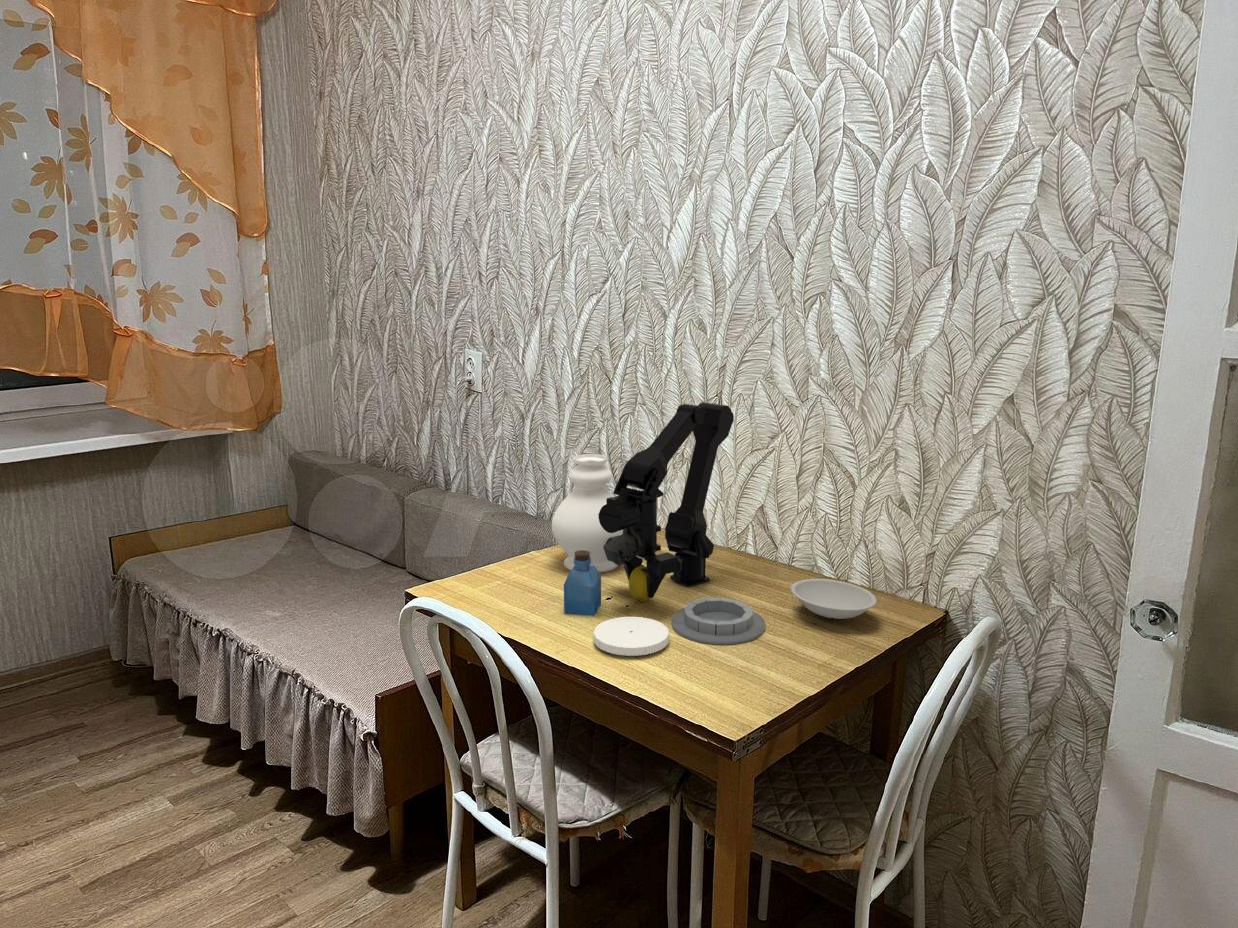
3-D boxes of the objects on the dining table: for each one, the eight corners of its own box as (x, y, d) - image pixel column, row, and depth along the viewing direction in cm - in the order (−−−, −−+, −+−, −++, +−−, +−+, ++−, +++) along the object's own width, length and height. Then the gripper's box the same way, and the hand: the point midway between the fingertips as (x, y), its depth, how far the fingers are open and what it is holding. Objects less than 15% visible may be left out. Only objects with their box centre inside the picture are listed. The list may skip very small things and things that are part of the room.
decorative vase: (644, 559, 220) (645, 454, 214) (602, 583, 206) (601, 471, 200) (581, 546, 230) (580, 445, 224) (536, 567, 215) (534, 461, 209)
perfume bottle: (594, 616, 189) (593, 559, 186) (564, 613, 190) (563, 556, 187) (601, 604, 195) (600, 548, 192) (571, 601, 196) (571, 546, 193)
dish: (773, 613, 190) (774, 589, 189) (818, 595, 199) (819, 572, 198) (846, 641, 177) (848, 616, 176) (890, 621, 186) (892, 597, 185)
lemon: (627, 597, 198) (627, 560, 196) (653, 596, 199) (654, 560, 197) (630, 607, 193) (630, 570, 191) (657, 606, 193) (657, 569, 191)
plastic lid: (684, 646, 176) (684, 633, 175) (625, 668, 167) (625, 654, 167) (636, 622, 186) (636, 610, 186) (578, 641, 178) (578, 629, 177)
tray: (722, 600, 196) (722, 586, 196) (784, 629, 182) (785, 615, 181) (653, 620, 186) (653, 606, 186) (713, 653, 172) (713, 637, 171)
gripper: (583, 516, 194) (584, 588, 198) (637, 540, 180) (637, 617, 183) (628, 507, 201) (627, 576, 204) (683, 530, 186) (682, 604, 190)
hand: (642, 593), depth 195 cm, fingers closed on lemon, 5 cm apart
